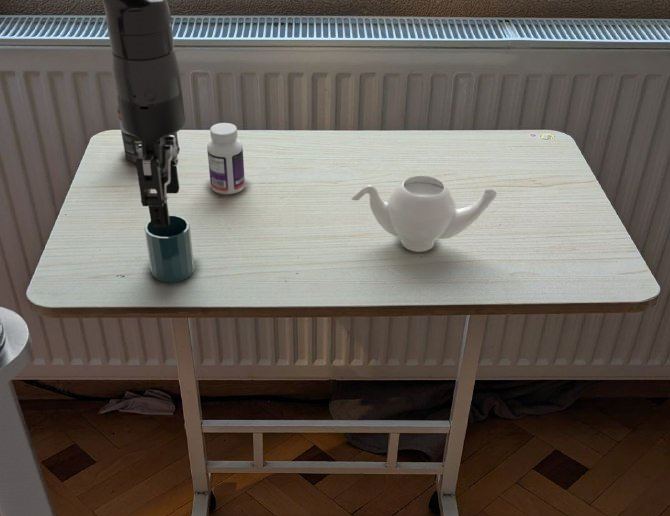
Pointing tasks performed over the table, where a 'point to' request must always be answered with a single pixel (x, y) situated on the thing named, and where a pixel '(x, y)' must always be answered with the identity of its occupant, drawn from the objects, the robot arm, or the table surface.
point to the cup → (170, 250)
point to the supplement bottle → (129, 143)
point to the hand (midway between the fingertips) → (166, 209)
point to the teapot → (423, 211)
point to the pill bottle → (225, 159)
